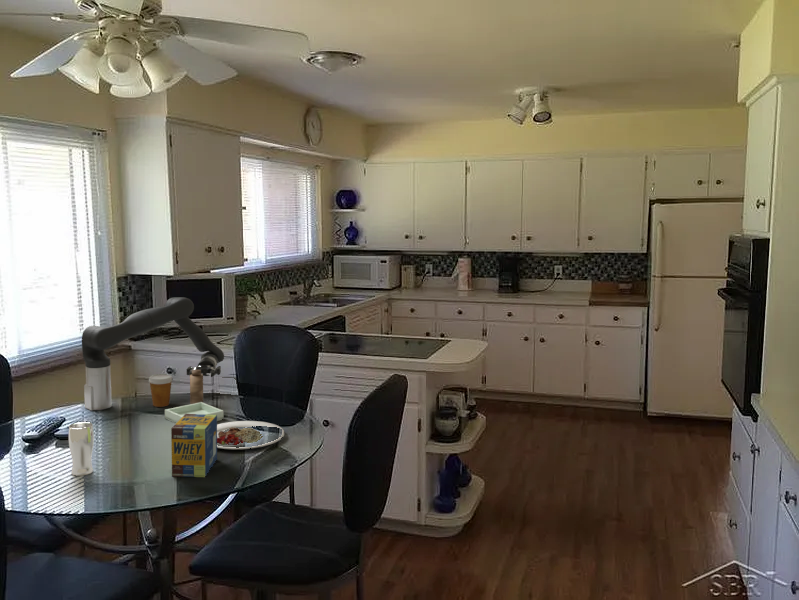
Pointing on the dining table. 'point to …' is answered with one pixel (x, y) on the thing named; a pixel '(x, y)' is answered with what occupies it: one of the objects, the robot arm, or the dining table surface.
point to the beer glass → (81, 447)
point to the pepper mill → (196, 387)
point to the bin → (192, 411)
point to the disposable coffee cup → (160, 389)
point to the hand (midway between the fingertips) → (201, 374)
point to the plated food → (242, 434)
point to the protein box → (194, 445)
